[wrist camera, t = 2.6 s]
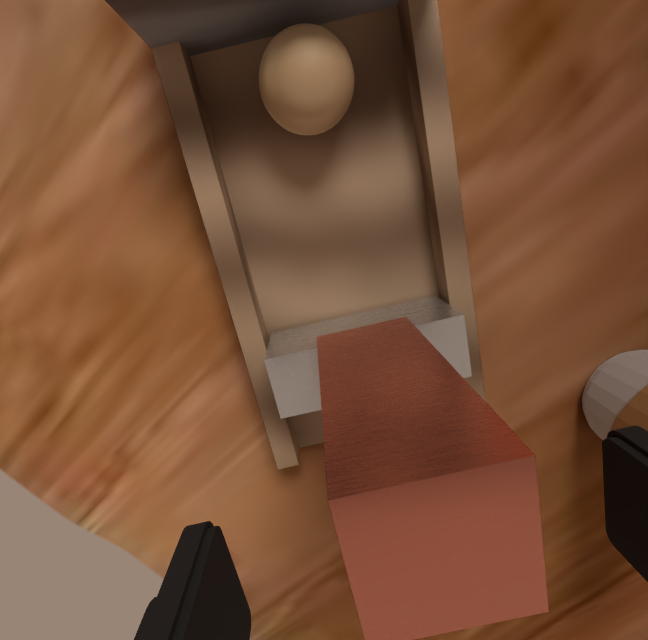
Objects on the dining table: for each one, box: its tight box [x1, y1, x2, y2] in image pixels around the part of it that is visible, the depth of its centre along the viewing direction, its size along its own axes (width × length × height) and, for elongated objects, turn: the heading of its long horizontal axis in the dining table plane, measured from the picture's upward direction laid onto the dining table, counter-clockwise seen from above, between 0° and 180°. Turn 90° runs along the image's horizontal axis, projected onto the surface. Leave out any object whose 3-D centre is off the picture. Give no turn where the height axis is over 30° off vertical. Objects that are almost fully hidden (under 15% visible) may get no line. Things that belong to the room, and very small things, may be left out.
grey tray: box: [105, 0, 486, 469], centre depth 18 cm, size 24×12×7 cm, turn 13°
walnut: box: [259, 23, 354, 135], centre depth 16 cm, size 4×4×4 cm
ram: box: [264, 296, 549, 640], centre depth 15 cm, size 4×9×14 cm, turn 103°
